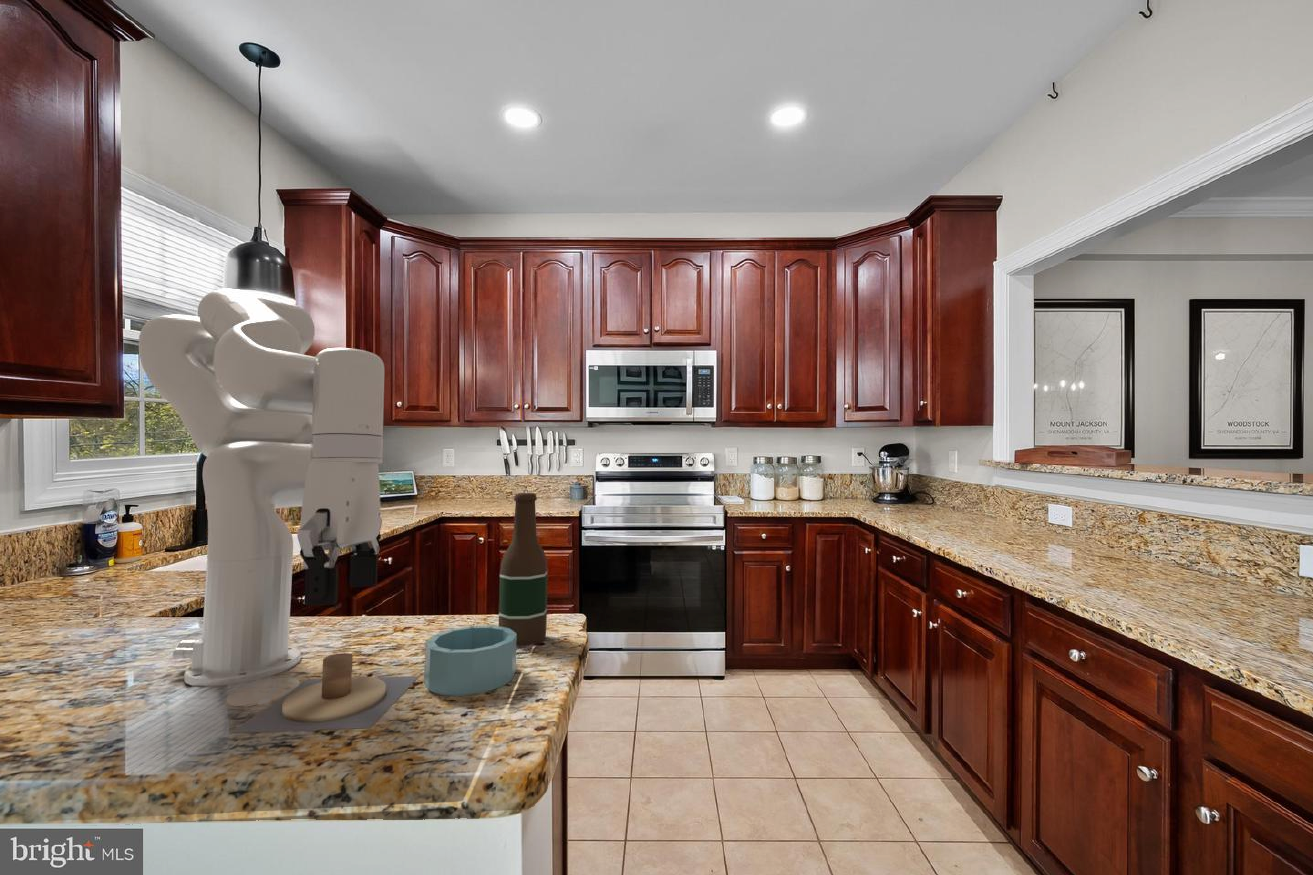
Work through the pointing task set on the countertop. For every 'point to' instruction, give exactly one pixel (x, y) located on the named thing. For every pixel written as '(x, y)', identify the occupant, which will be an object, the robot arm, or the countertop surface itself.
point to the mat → (365, 719)
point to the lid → (334, 693)
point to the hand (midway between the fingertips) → (343, 594)
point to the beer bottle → (524, 577)
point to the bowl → (470, 660)
